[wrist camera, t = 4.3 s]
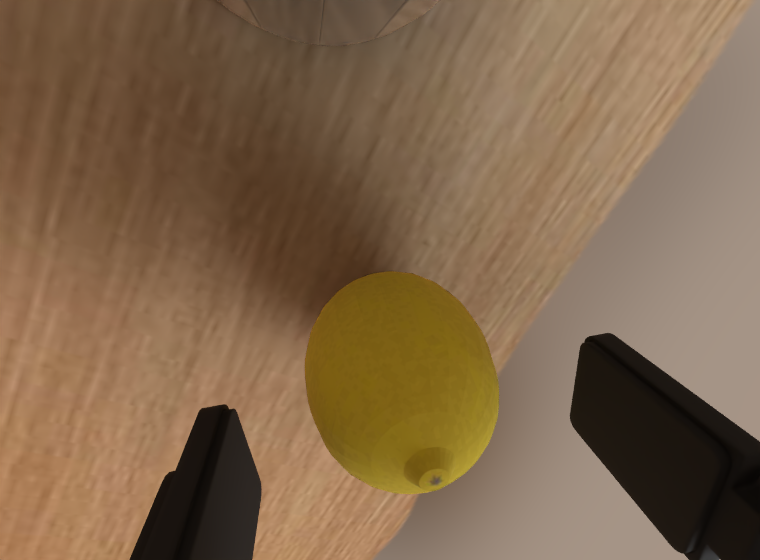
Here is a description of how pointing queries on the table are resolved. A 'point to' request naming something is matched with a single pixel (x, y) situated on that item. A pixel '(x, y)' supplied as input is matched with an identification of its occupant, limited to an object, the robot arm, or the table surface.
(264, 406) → the table surface
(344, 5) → the blue cylindrical container
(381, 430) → the lemon
